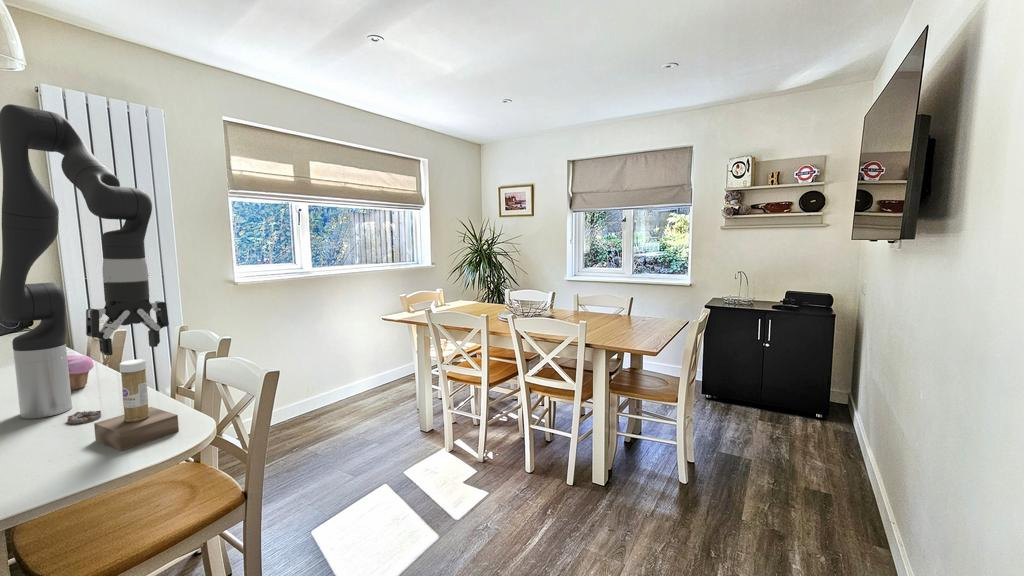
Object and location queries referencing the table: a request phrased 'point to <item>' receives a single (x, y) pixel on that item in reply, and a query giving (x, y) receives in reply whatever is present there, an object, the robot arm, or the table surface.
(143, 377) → the sprinkles bottle
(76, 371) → the cupcake
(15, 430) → the table surface
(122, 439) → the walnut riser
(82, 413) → the donut
